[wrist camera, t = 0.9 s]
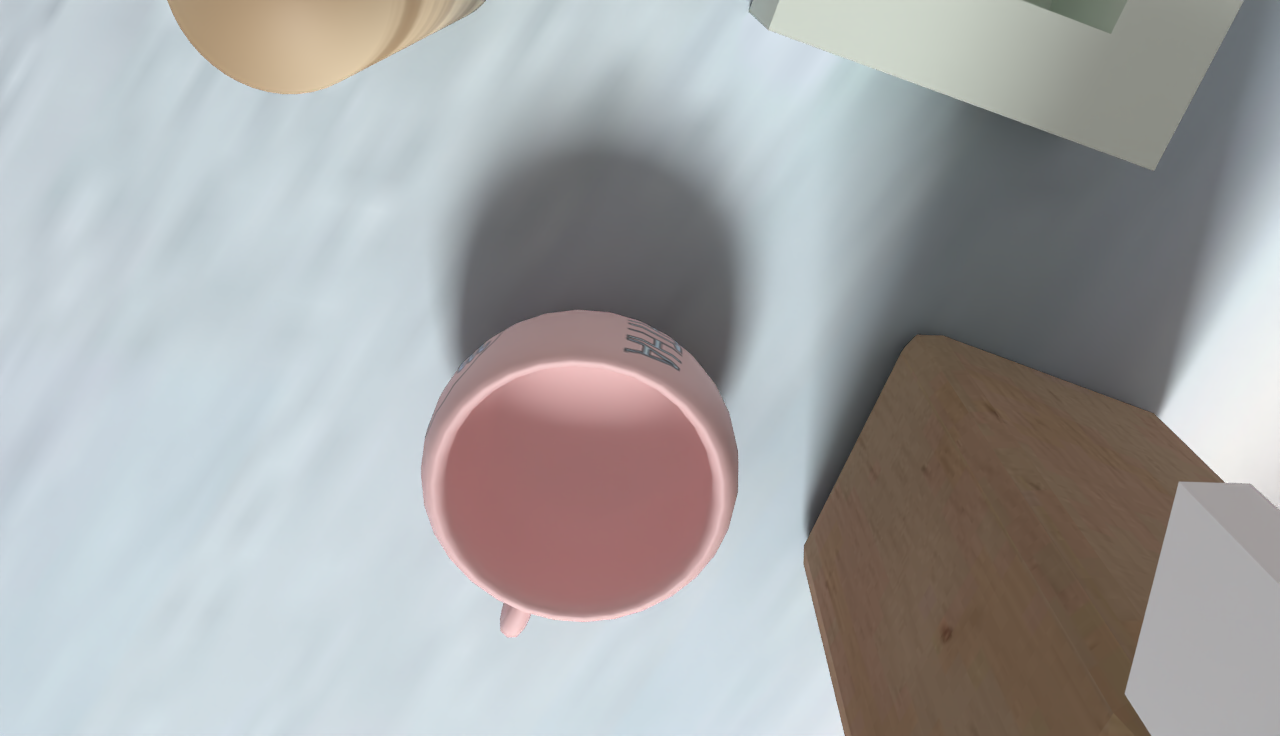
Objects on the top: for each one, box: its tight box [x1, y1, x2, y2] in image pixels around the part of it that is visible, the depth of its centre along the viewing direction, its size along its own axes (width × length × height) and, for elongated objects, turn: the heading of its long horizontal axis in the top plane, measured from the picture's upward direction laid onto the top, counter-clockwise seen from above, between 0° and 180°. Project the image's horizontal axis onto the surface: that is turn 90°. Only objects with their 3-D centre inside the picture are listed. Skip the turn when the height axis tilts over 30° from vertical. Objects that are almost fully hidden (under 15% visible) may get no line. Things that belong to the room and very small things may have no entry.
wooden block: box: [804, 334, 1225, 736], centre depth 30 cm, size 10×10×20 cm
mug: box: [421, 310, 738, 638], centre depth 36 cm, size 12×10×6 cm
